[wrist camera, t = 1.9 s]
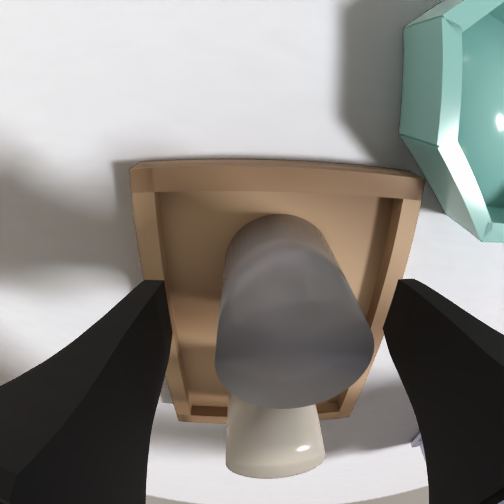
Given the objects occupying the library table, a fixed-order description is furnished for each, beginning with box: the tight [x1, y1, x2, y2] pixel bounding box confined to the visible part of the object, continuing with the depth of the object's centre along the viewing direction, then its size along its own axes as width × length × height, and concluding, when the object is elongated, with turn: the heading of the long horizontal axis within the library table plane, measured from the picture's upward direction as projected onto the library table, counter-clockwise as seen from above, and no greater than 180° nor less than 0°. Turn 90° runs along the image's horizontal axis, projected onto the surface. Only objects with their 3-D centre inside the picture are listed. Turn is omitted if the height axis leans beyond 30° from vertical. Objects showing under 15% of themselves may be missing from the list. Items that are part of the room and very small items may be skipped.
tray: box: [129, 159, 425, 424], centre depth 13 cm, size 14×10×1 cm
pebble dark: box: [215, 214, 374, 409], centre depth 9 cm, size 4×4×5 cm
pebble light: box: [226, 391, 325, 479], centre depth 12 cm, size 4×4×5 cm
